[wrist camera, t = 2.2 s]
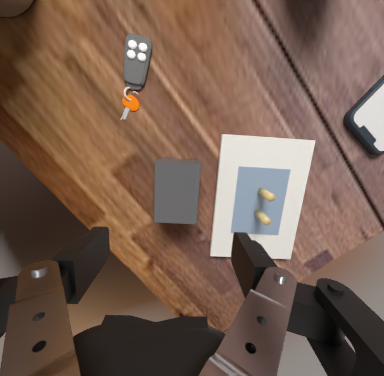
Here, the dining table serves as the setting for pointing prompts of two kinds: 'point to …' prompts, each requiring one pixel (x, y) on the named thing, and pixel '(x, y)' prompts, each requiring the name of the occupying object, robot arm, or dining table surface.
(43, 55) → the dining table surface
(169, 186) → the block
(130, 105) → the key chain
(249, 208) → the board
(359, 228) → the dining table surface
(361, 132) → the smartphone
